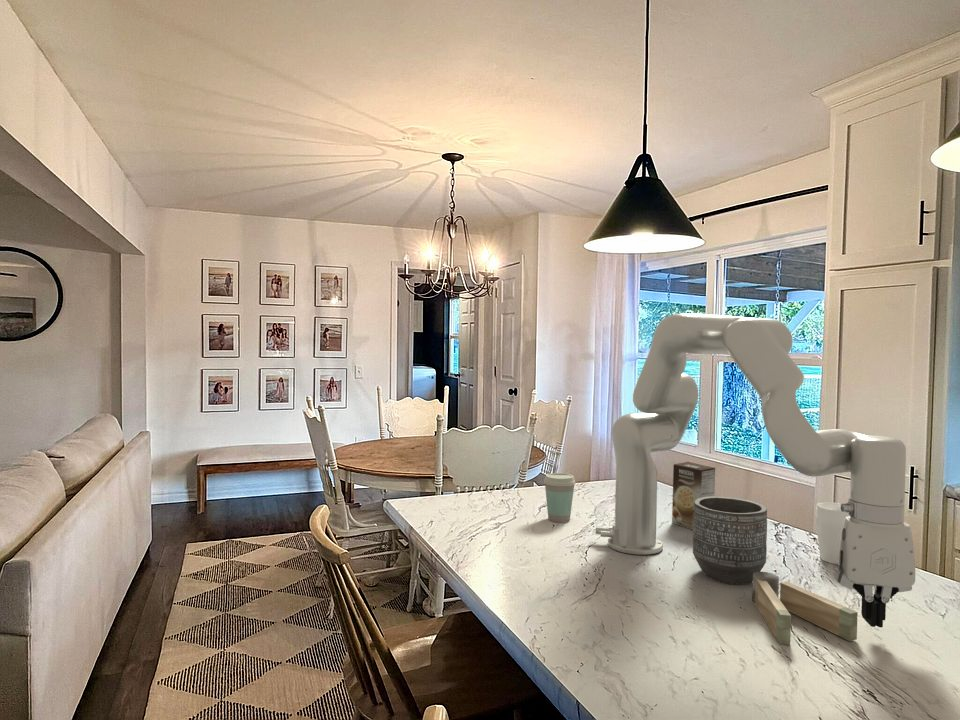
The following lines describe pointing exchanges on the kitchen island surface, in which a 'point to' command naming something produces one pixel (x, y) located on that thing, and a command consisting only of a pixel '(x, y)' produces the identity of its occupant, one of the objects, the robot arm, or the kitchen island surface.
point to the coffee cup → (559, 496)
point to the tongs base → (771, 605)
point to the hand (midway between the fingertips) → (873, 623)
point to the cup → (829, 529)
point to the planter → (729, 538)
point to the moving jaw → (819, 610)
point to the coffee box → (690, 490)
